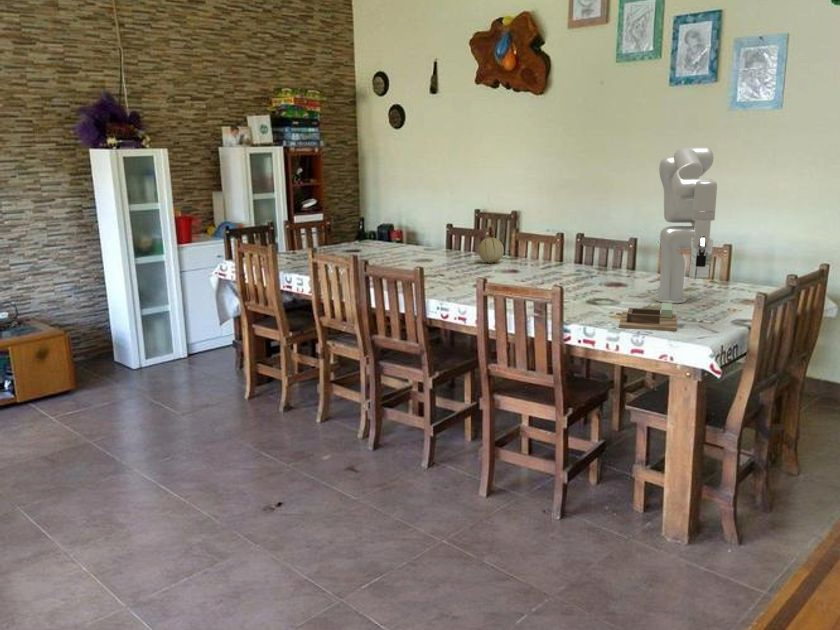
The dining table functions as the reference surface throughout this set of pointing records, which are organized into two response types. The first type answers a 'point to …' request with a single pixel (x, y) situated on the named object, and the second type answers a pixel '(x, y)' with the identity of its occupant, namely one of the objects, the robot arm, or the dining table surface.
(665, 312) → the bar
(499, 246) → the cantaloupe
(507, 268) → the dining table surface
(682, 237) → the robot arm
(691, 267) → the syrup box
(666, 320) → the socket board
